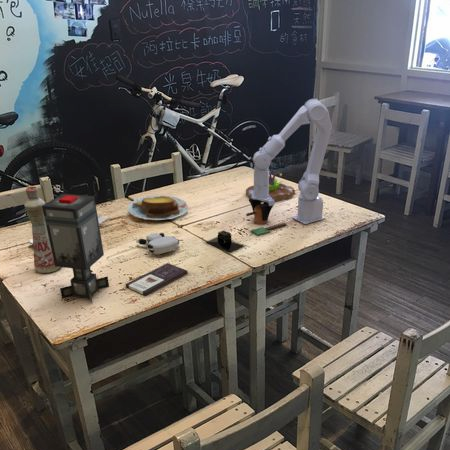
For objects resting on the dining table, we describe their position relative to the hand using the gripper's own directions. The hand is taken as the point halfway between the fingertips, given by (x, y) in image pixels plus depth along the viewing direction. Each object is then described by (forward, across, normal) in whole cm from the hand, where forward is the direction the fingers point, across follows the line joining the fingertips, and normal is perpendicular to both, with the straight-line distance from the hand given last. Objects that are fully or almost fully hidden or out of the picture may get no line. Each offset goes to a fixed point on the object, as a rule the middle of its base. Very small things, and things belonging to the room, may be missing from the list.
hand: (260, 217), depth 199 cm
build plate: (+2, +10, -23) cm, 25 cm away
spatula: (+2, +8, -2) cm, 9 cm away
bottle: (+2, -6, -81) cm, 81 cm away
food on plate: (+2, -32, -29) cm, 44 cm away
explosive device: (+2, +16, -76) cm, 78 cm away
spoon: (+2, -30, -67) cm, 74 cm away
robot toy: (+2, 0, -44) cm, 44 cm away
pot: (+1, 0, -2) cm, 3 cm away
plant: (+2, -24, +21) cm, 32 cm away
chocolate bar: (+2, +21, -54) cm, 59 cm away
